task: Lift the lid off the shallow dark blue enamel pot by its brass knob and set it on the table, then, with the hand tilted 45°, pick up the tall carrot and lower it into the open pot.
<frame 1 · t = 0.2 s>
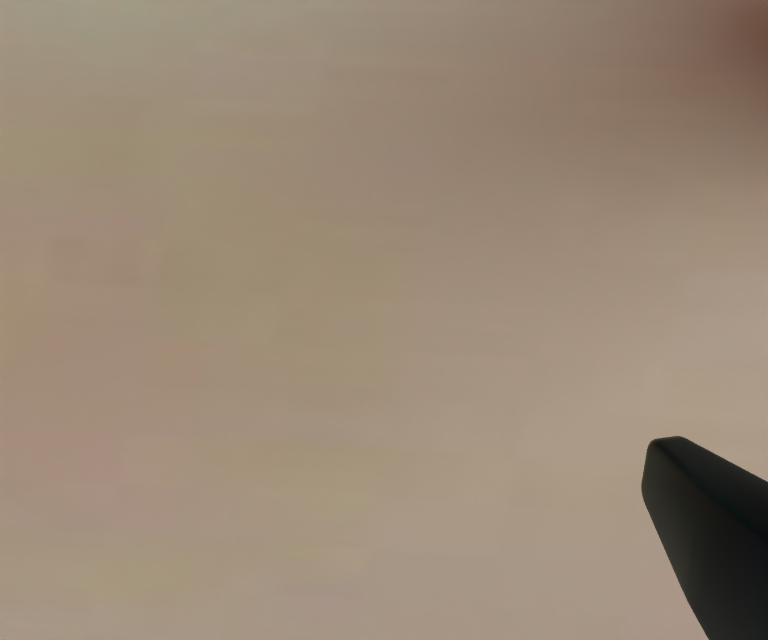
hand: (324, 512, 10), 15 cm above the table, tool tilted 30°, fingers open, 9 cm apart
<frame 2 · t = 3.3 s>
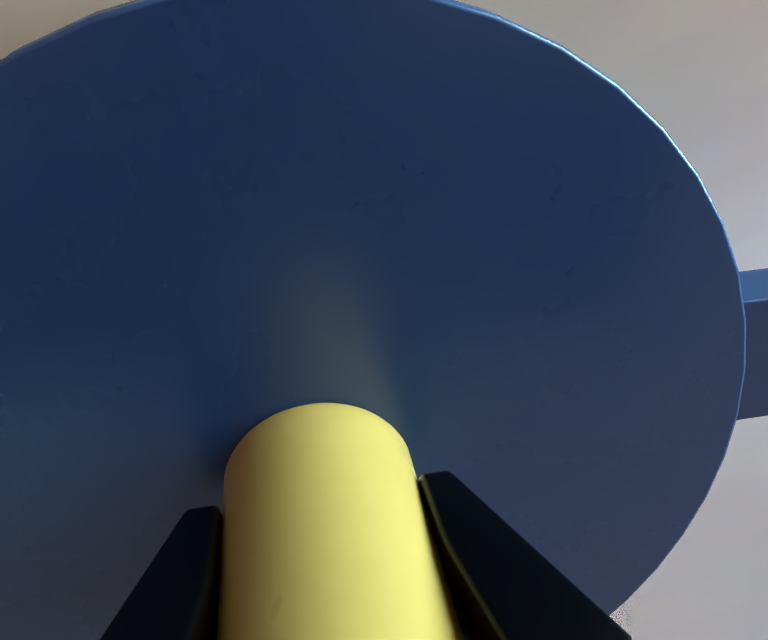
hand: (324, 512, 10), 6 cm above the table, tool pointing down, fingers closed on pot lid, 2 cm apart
pot: (298, 310, 14), on the table
pot lid: (316, 453, 11), point 4 cm above the table, touching gripper, pot
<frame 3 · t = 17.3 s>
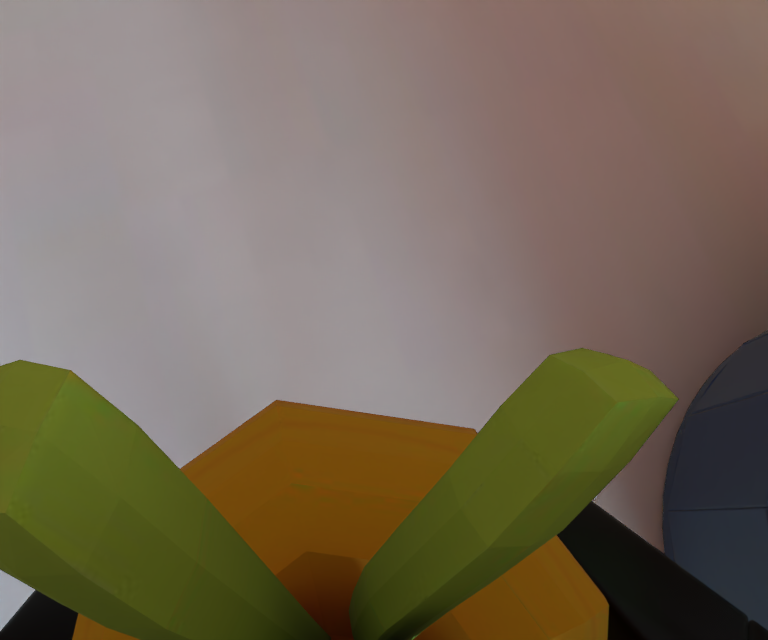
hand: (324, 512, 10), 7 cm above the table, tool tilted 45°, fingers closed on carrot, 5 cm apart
carrot: (331, 581, 16), on the table, touching gripper
when the fingers open (8 cm above the table, at t = 23.0 s): carrot stays where it is, resting on pot.
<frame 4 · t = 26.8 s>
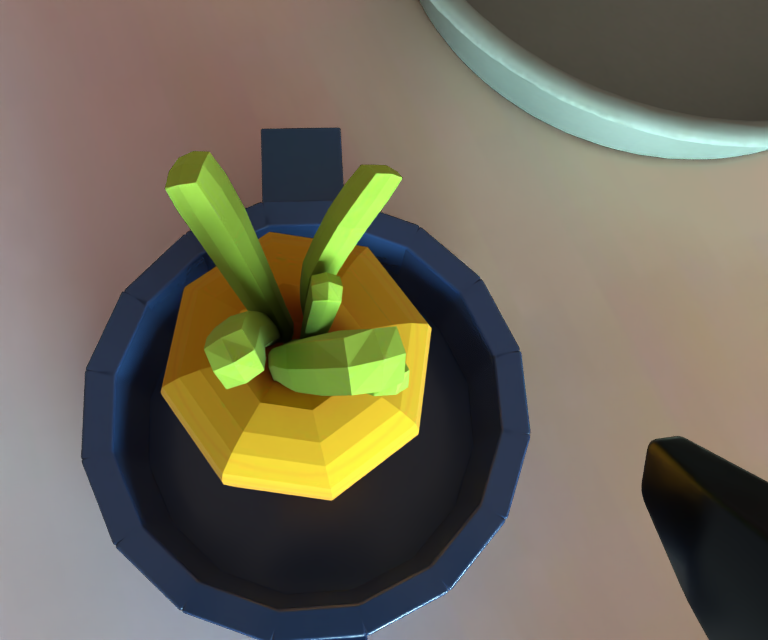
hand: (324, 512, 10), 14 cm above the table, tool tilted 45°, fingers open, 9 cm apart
pot: (313, 424, 23), on the table
carrot: (311, 431, 23), resting on pot
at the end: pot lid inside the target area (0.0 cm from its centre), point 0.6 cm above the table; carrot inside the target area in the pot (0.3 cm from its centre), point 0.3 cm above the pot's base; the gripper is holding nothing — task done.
